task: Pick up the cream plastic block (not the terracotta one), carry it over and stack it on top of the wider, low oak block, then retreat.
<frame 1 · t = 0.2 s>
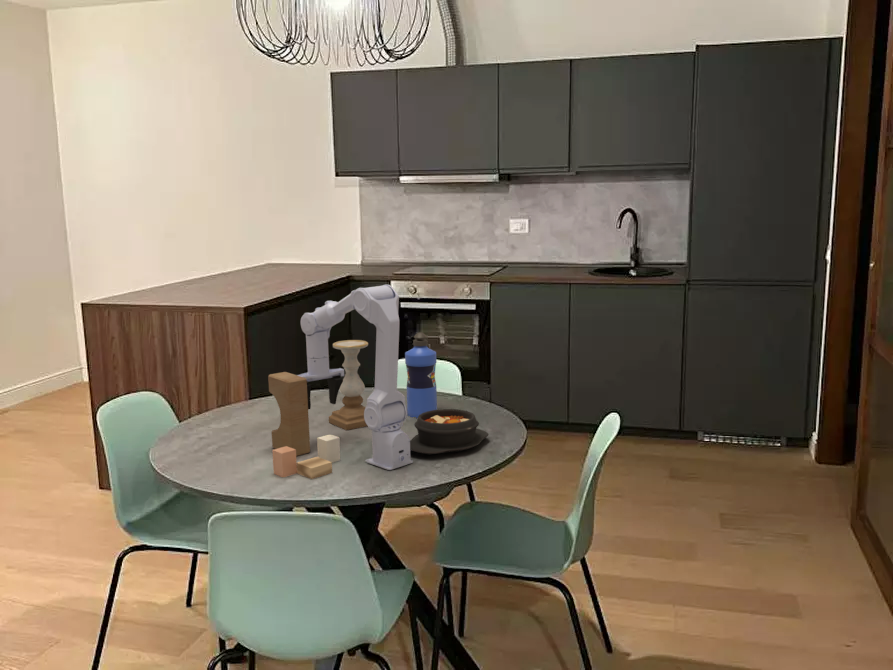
hand: (320, 406, 218), 10 cm above the table, tool pointing down, fingers open, 7 cm apart
terracotta cube: (285, 473, 195), on the table
decorative block: (291, 451, 213), on the table
candle holder: (353, 423, 237), on the table
cream cube: (329, 460, 204), on the table
water bottle: (422, 414, 245), on the table
casserole: (447, 447, 214), on the table
oak block: (314, 474, 195), on the table
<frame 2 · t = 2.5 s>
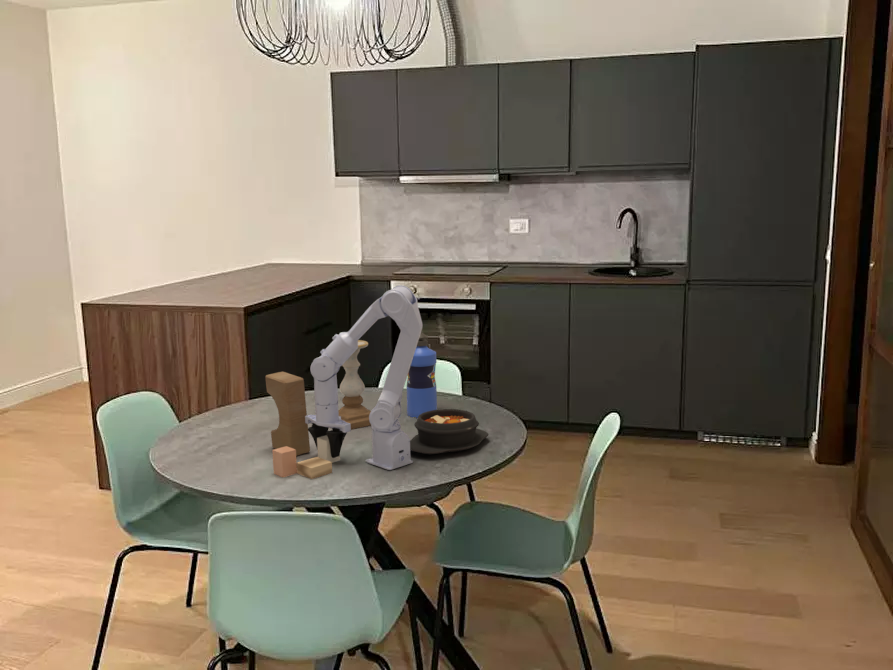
hand: (329, 454, 204), 1 cm above the table, tool pointing down, fingers closed on cream cube, 4 cm apart
cream cube: (329, 460, 204), on the table, touching gripper
everything else where it was.
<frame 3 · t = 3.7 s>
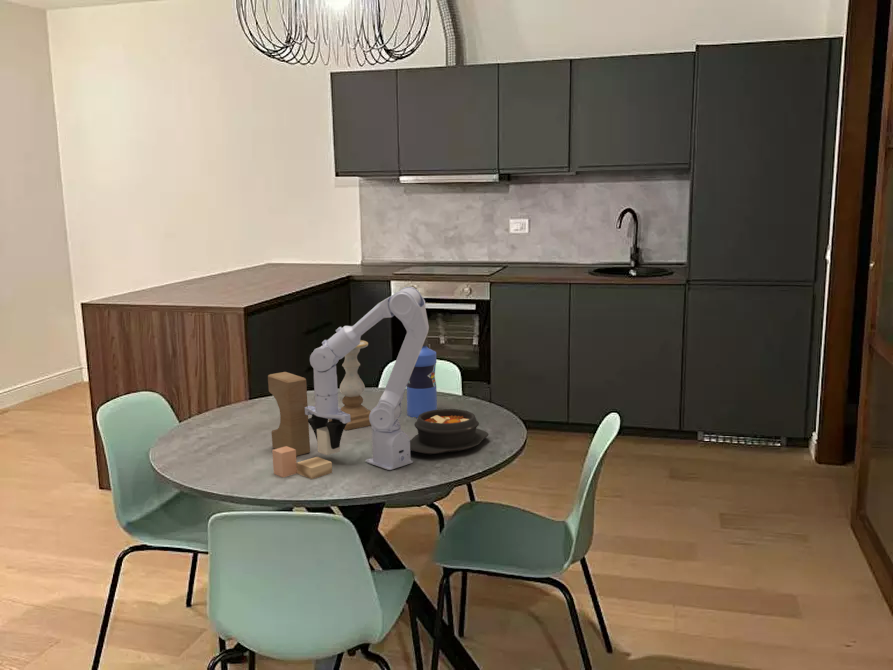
hand: (328, 446, 204), 4 cm above the table, tool pointing down, fingers closed on cream cube, 4 cm apart
cream cube: (329, 451, 204), point 2 cm above the table, touching gripper
everything else where it was.
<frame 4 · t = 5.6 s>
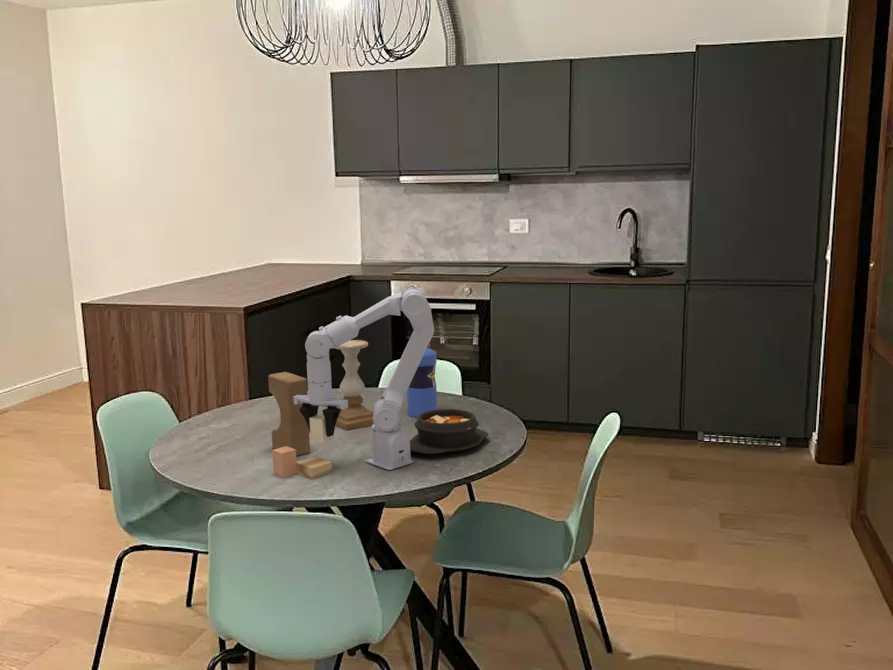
hand: (321, 434, 199), 8 cm above the table, tool pointing down, fingers closed on cream cube, 4 cm apart
cream cube: (322, 440, 200), point 6 cm above the table, touching gripper
everything else where it was.
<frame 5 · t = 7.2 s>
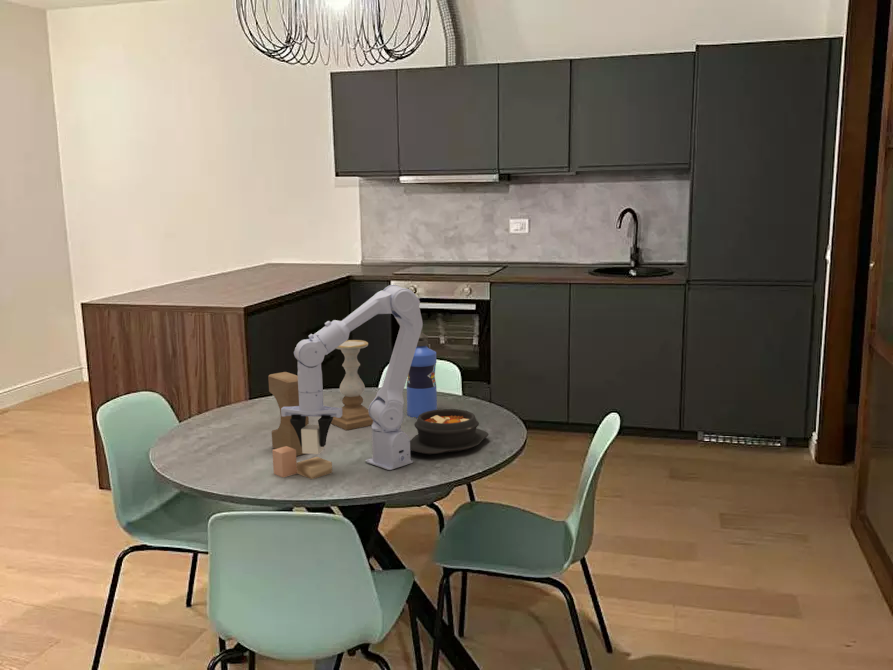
hand: (313, 445, 194), 7 cm above the table, tool pointing down, fingers closed on cream cube, 4 cm apart
cream cube: (313, 451, 194), point 5 cm above the table, touching gripper
everything else where it was.
when the fingers open (6 cm above the table, at t = 8.7 s): cream cube drops 1 cm, point 3 cm above the table.
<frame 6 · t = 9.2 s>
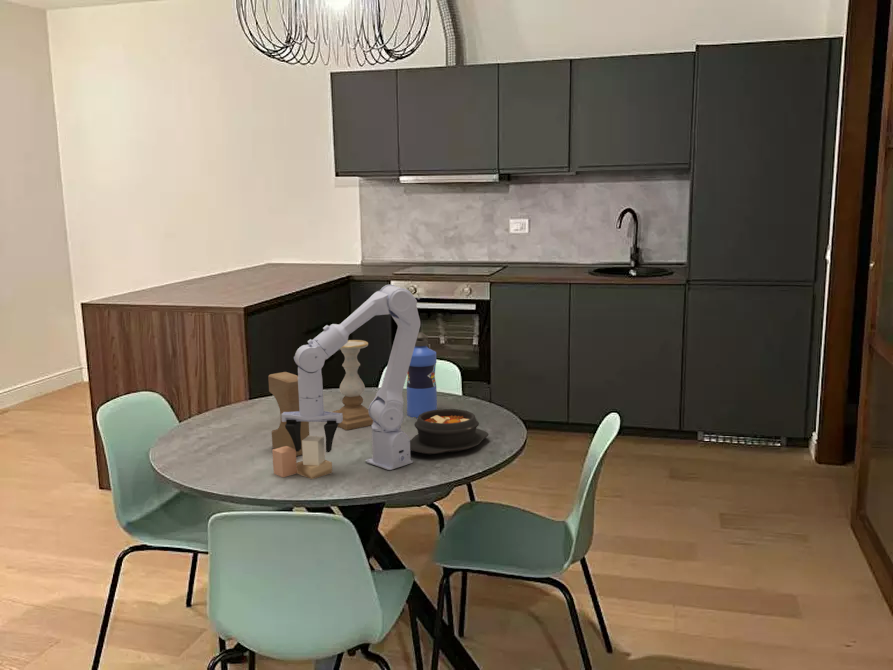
hand: (313, 450, 194), 6 cm above the table, tool pointing down, fingers open, 7 cm apart
terracotta cube: (285, 473, 195), on the table, touching gripper
cream cube: (314, 462, 195), point 3 cm above the table
everything else where it was.
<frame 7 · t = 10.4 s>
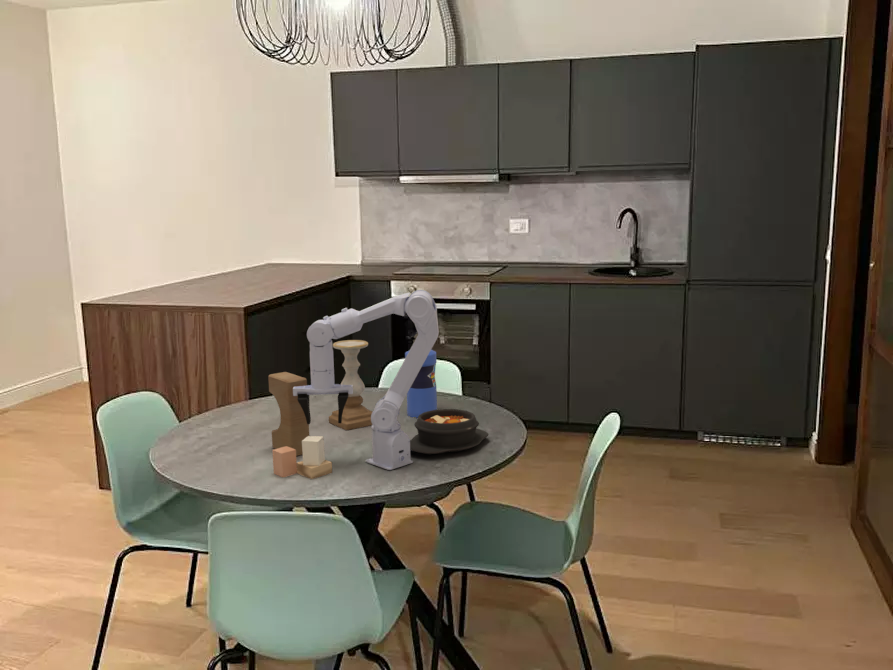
hand: (324, 422, 201), 10 cm above the table, tool pointing down, fingers open, 7 cm apart
terracotta cube: (285, 473, 195), on the table
cream cube: (314, 462, 195), point 3 cm above the table, touching oak block
oak block: (314, 474, 195), on the table, touching cream cube
everything else where it was.
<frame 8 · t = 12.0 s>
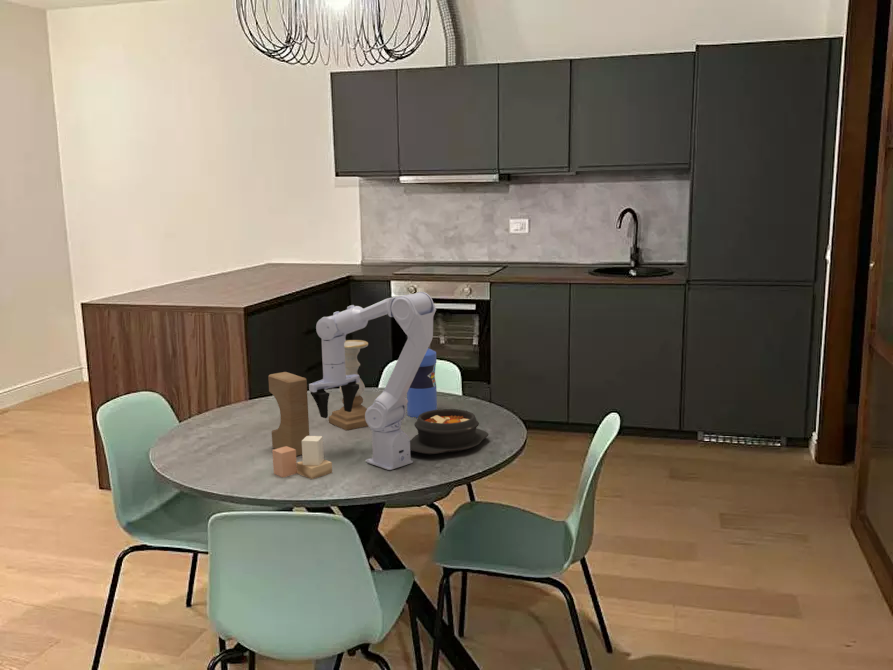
hand: (336, 414, 208), 10 cm above the table, tool pointing down, fingers open, 7 cm apart
nothing on the table moved.
at the end: cream cube 0.3 cm off-centre on the oak block, point 3.0 cm above the oak block's base; the gripper is holding nothing; terracotta cube moved 0.1 cm from its start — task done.
